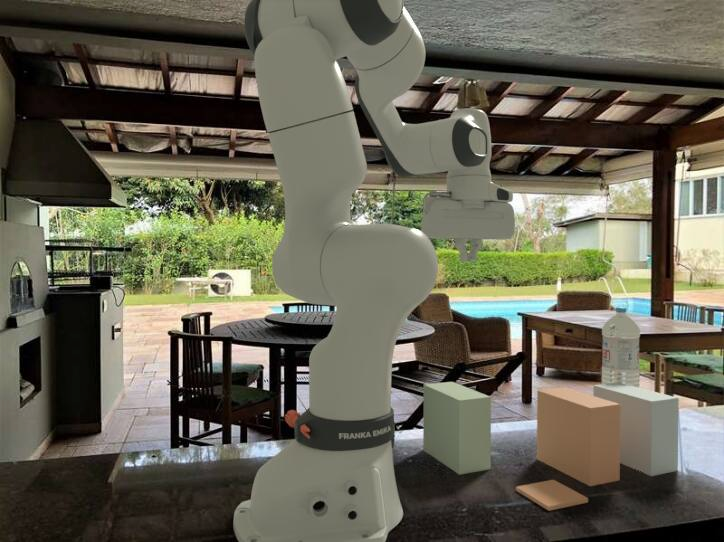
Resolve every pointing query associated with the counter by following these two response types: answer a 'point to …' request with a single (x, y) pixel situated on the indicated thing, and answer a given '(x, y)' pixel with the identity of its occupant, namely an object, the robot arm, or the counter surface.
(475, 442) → the sage block
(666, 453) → the blue-grey block
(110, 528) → the counter surface
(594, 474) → the terracotta block
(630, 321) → the water bottle
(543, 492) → the tile
